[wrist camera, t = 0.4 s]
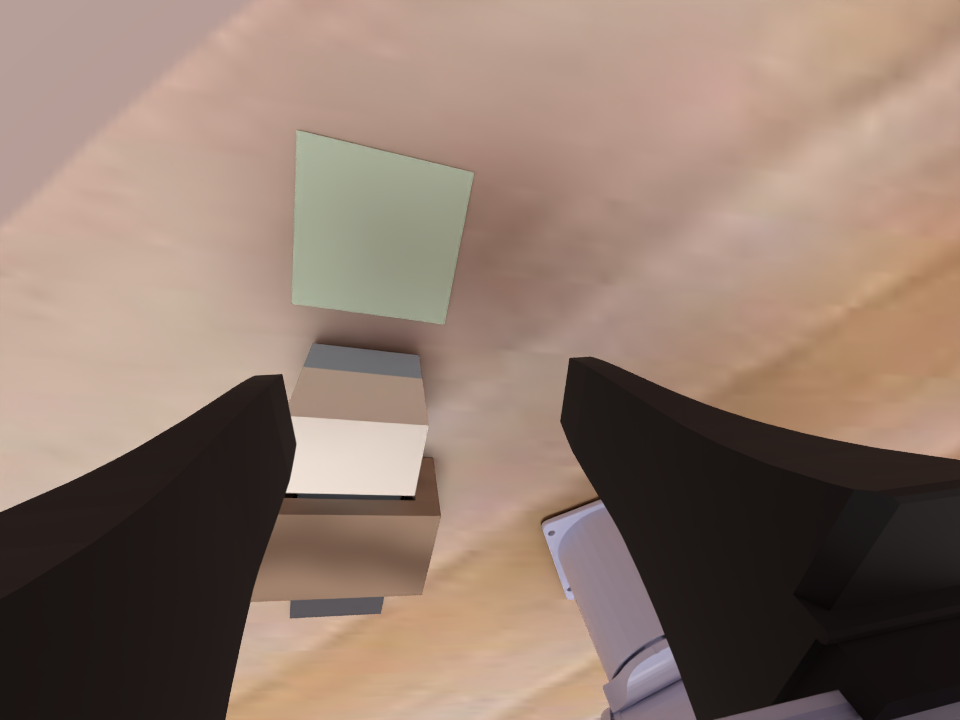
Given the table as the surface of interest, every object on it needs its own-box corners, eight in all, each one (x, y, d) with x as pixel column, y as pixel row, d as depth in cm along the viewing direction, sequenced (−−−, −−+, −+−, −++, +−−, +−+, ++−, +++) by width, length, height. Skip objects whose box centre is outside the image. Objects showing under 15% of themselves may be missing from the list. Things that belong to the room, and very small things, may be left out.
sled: (385, 547, 26) (384, 646, 21) (301, 547, 25) (278, 654, 20) (419, 355, 21) (428, 425, 15) (312, 343, 19) (284, 415, 14)
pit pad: (380, 610, 30) (380, 613, 29) (290, 614, 28) (289, 618, 28) (391, 552, 27) (391, 555, 27) (293, 553, 26) (292, 557, 25)
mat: (443, 322, 21) (444, 324, 20) (292, 301, 19) (291, 303, 18) (473, 172, 18) (474, 172, 17) (298, 130, 16) (296, 129, 16)
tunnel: (417, 530, 27) (421, 595, 23) (269, 530, 24) (246, 602, 21) (433, 457, 24) (440, 516, 20) (269, 450, 22) (244, 514, 18)
